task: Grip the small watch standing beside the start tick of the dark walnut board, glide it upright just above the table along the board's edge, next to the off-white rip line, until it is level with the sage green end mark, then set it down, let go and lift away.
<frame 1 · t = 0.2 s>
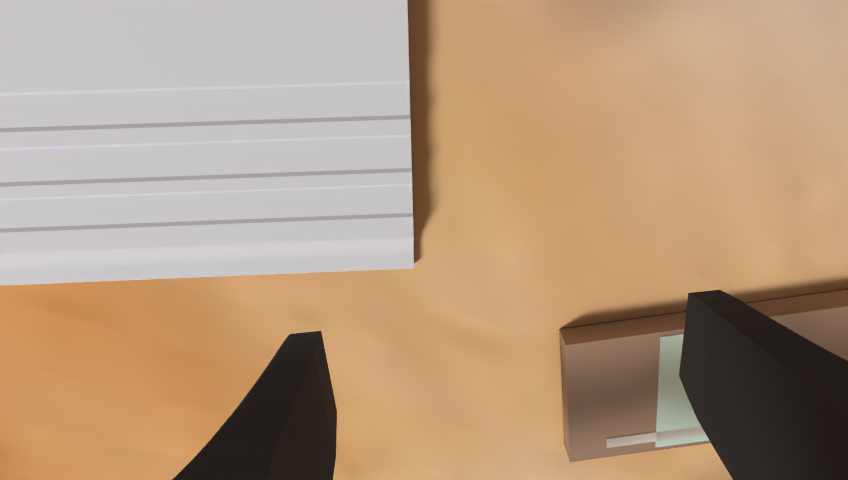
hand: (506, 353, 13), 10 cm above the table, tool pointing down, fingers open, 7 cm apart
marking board: (810, 355, 27), on the table
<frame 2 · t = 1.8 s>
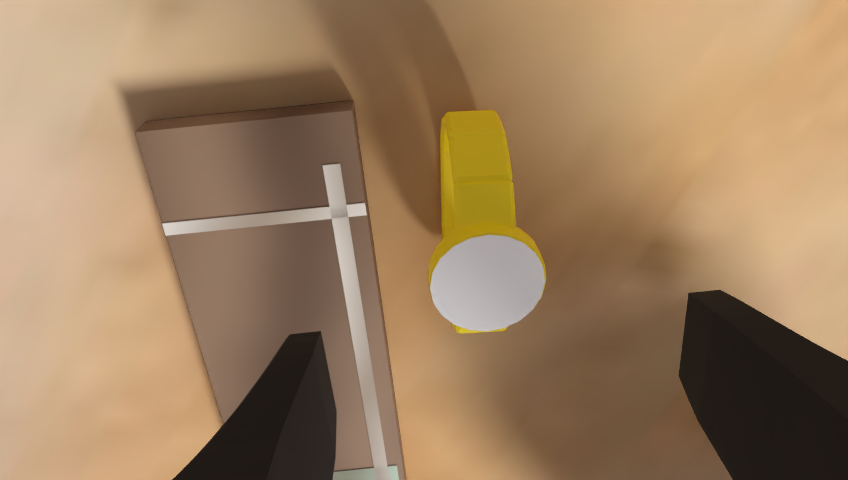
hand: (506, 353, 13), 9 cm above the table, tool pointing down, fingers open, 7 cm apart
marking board: (308, 381, 24), on the table
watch: (462, 182, 21), on the table
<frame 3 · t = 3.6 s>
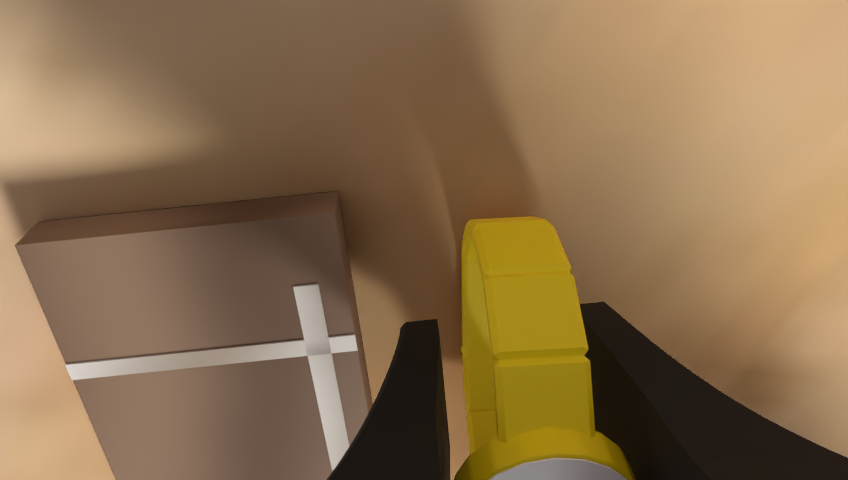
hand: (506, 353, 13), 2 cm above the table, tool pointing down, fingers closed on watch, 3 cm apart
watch: (491, 295, 15), on the table, touching gripper
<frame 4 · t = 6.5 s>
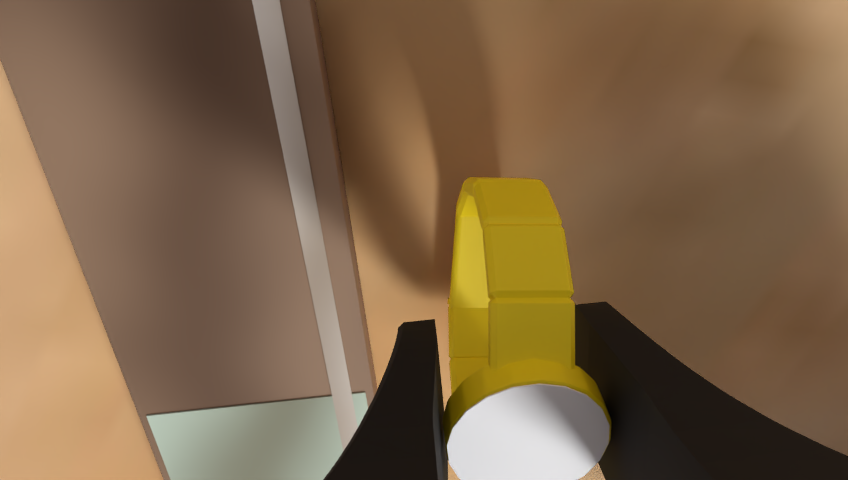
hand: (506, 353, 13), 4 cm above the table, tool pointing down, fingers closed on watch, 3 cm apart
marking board: (233, 265, 16), on the table
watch: (479, 252, 16), on the table, touching gripper
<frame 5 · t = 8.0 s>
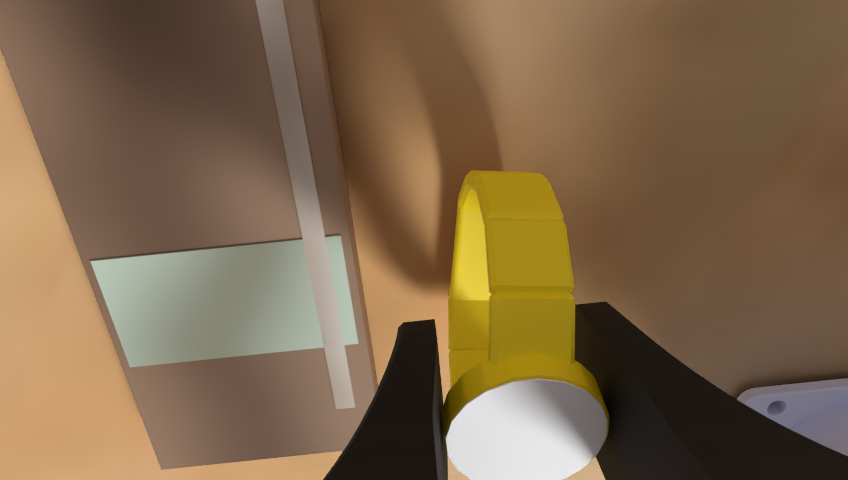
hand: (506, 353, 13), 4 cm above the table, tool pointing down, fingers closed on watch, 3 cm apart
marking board: (187, 81, 14), on the table
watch: (480, 244, 16), on the table, touching gripper
when the fingers open (2 cm above the table, at t = 9.5 s): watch stays where it is, on the table.
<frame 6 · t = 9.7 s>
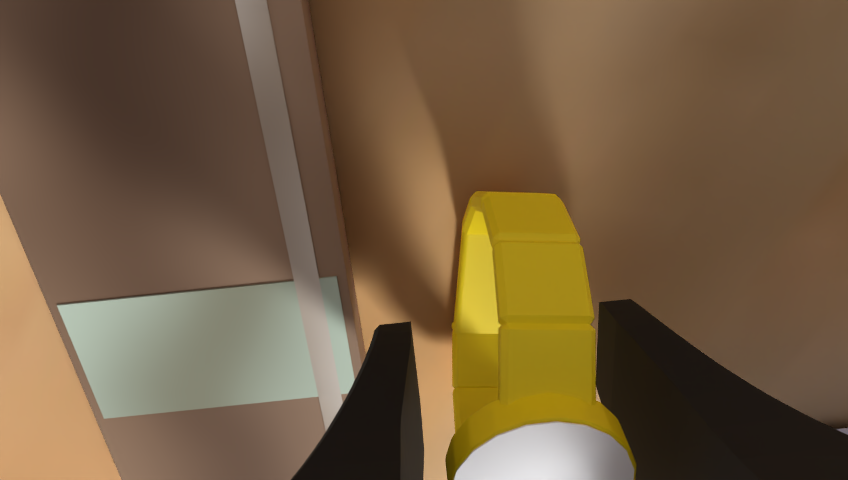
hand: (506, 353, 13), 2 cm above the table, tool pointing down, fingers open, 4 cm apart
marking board: (164, 105, 13), on the table
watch: (486, 273, 15), on the table
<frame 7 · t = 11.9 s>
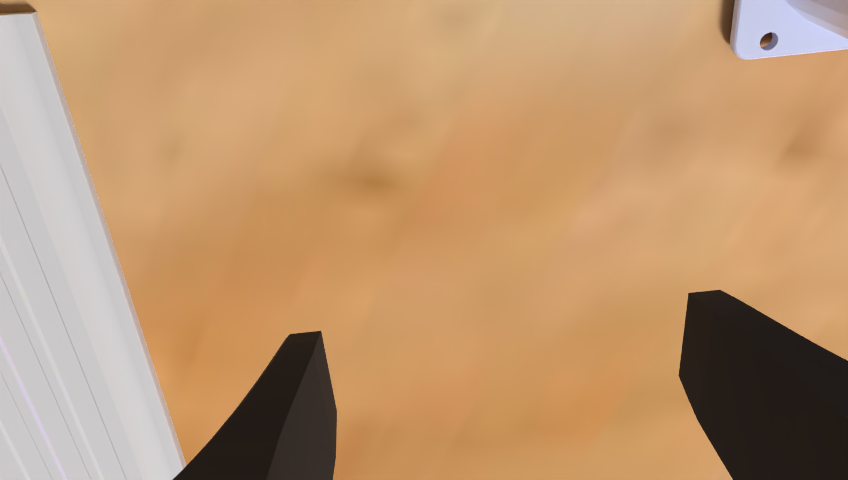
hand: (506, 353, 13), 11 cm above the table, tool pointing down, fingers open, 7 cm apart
baseboard molding: (65, 383, 29), on the table
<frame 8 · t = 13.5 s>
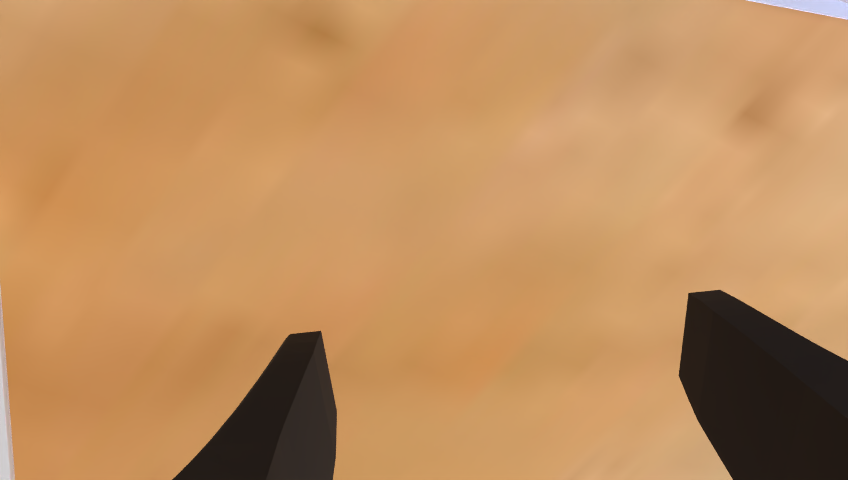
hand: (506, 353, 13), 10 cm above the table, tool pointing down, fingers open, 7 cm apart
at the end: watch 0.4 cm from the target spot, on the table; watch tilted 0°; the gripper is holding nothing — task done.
